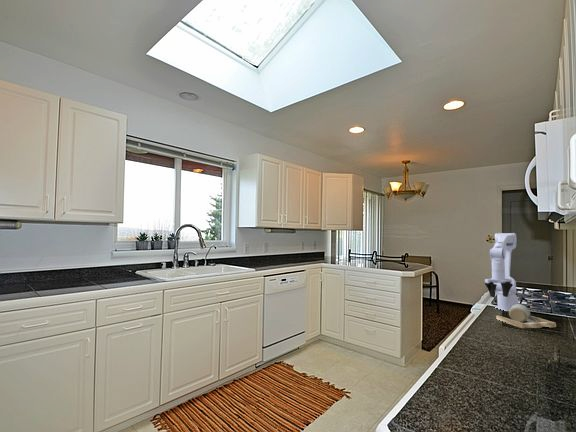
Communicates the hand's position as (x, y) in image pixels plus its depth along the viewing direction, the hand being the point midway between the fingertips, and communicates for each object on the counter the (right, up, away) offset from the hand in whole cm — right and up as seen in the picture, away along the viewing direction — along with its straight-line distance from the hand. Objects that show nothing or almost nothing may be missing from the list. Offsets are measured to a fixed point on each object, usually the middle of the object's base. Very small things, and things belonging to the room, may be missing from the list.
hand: (499, 296), depth 157 cm
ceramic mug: (+3, -9, -13) cm, 16 cm away
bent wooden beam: (+1, -8, -15) cm, 18 cm away
